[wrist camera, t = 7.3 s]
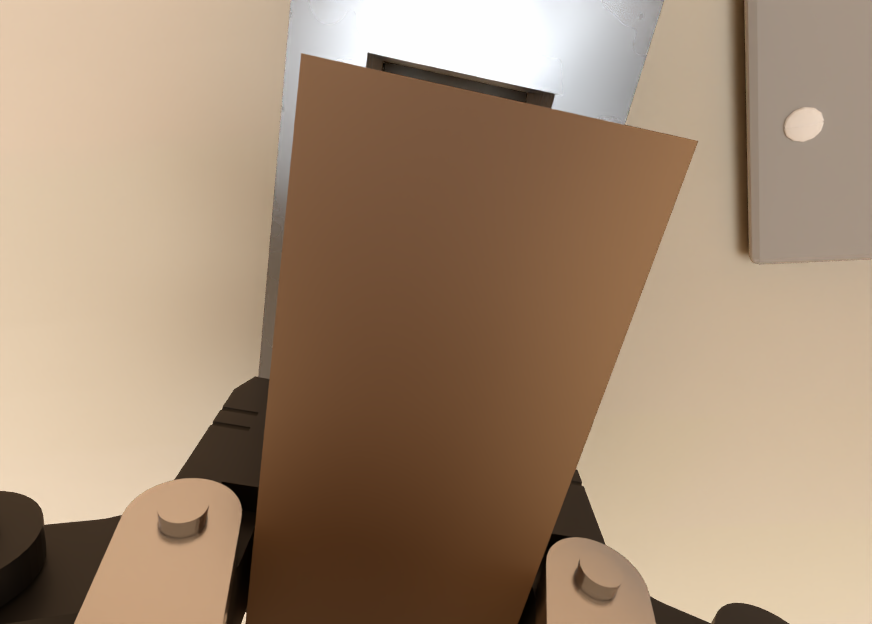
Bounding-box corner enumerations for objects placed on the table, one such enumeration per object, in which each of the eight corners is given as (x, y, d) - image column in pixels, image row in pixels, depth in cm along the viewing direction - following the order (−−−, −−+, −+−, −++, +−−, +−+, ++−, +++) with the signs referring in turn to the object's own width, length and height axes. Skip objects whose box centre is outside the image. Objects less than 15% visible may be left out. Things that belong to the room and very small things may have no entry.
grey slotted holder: (635, -69, 15) (702, -122, 11) (461, 537, 23) (466, 623, 19) (343, -141, 14) (309, -223, 10) (272, 508, 22) (240, 591, 19)
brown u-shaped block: (531, 107, 12) (698, 142, 4) (425, 524, 16) (418, 889, 9) (386, 76, 11) (301, 54, 4) (319, 508, 16) (221, 870, 9)
